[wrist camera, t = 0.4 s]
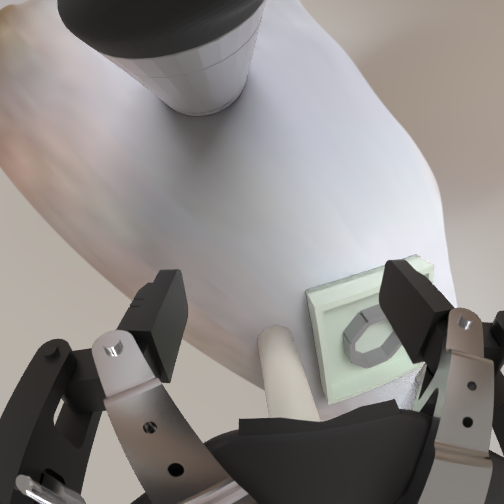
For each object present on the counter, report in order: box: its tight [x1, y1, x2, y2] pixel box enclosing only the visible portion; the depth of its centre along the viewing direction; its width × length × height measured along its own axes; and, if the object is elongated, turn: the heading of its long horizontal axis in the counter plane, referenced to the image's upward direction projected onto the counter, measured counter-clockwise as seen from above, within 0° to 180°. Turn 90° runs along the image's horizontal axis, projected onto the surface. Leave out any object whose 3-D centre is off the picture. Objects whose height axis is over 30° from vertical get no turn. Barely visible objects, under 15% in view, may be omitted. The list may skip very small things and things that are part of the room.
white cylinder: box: [257, 326, 320, 422], centre depth 27 cm, size 4×4×14 cm
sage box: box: [305, 254, 434, 405], centre depth 33 cm, size 18×16×4 cm
